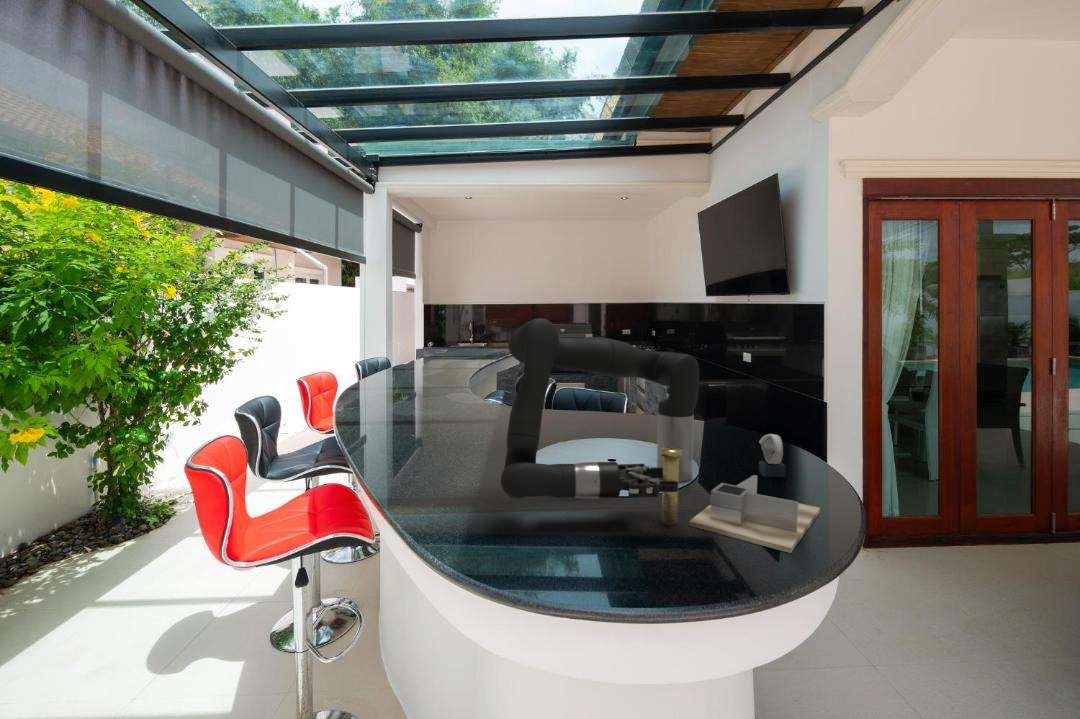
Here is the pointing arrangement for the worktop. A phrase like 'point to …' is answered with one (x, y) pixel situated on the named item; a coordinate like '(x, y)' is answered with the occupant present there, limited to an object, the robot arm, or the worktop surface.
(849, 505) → the worktop surface
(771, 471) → the watch
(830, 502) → the worktop surface
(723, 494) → the hinge
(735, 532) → the board
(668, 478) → the hinge pin
